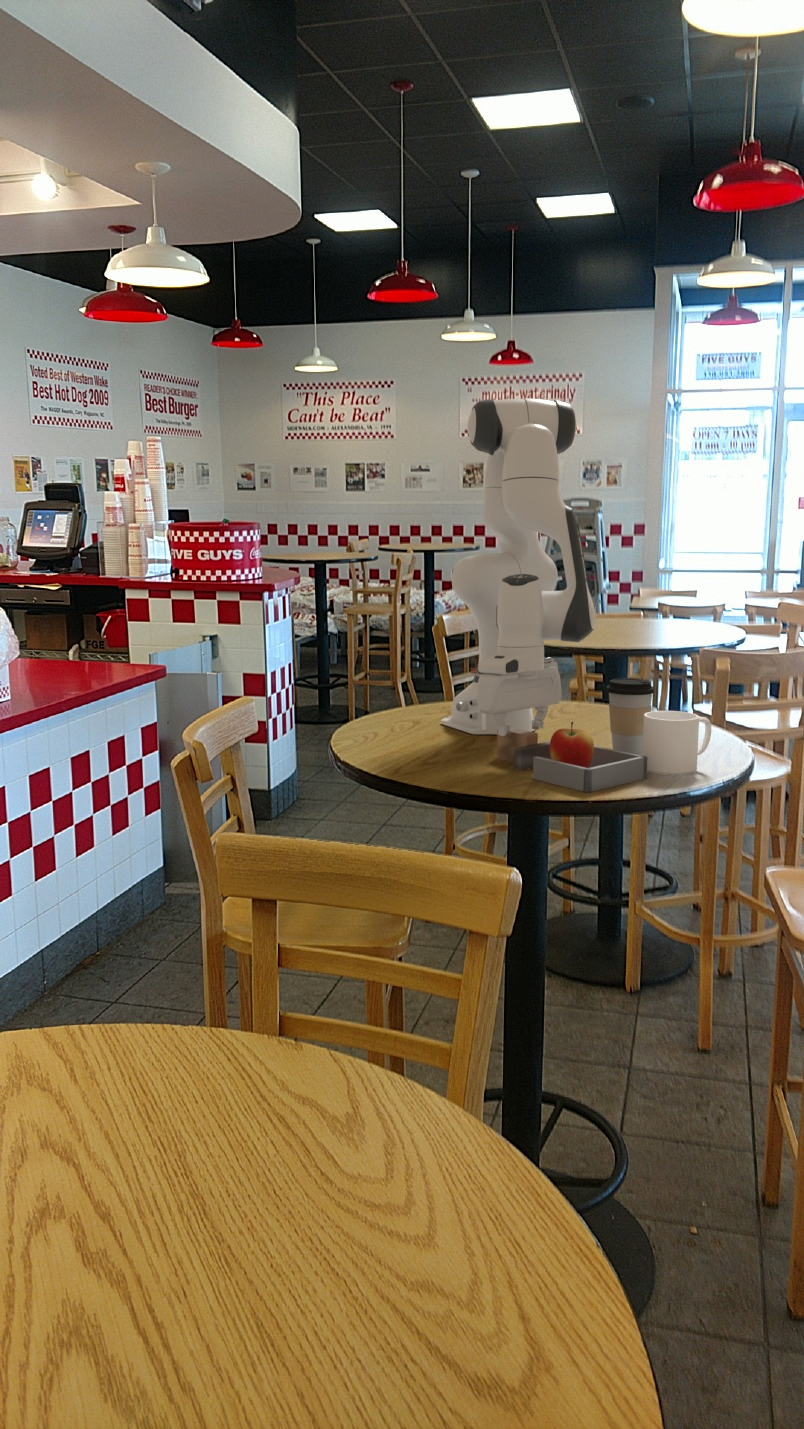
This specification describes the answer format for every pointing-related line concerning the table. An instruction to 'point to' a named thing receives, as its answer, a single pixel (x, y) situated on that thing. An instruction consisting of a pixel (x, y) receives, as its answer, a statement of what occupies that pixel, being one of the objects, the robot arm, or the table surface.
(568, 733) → the apple
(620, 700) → the coffee cup
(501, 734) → the robot arm
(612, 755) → the tray
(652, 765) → the mug
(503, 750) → the tan grey t-shaped block
